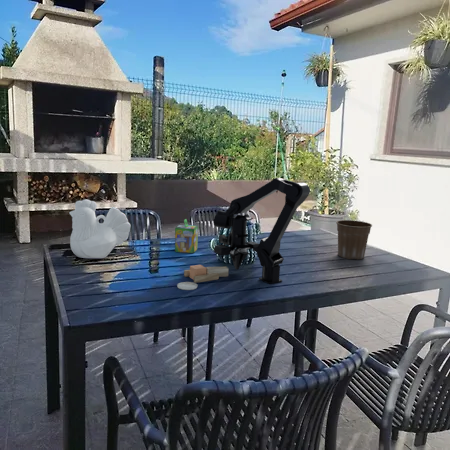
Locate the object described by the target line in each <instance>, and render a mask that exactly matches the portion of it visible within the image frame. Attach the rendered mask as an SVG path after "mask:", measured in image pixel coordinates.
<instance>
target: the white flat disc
mask: <svg viewBox="0 0 450 450" xmlns="http://www.w3.org/2000/svg"><path fill="white" fill-rule="evenodd" d="M176 286H177V288H178V289H179V290H182V291H193V290H196V289H197V288H198V284H197V283H195V282H194V281H193V282H192V281H183V282H179V283H177V284H176Z"/></svg>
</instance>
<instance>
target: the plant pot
mask: <svg viewBox="0 0 450 450" xmlns="http://www.w3.org/2000/svg"><path fill="white" fill-rule="evenodd" d="M372 227H373V224H372V223H369V222H367V221H359V220H353V219H352V220H351V219H348V220H347V219H343V220H342V219H341V220H337V221H336V230H337V255H338V257H340V258H343V259H348V260H353V259H354V260H362V259H364V258H365V255H366V250H367V244H368V239H369V235H370V234H371V230H372Z"/></svg>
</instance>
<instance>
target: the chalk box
mask: <svg viewBox="0 0 450 450" xmlns="http://www.w3.org/2000/svg"><path fill="white" fill-rule="evenodd" d="M183 223H184V224H178V225H177V226H176V227H175V229H174V252H175V253H187V254H189V253H191V254H195V252H196V251H197V250H198V243H199V240H198V237H199V235H198V234H199V226H198V225H191V224H188V221H187V218H185V219H183Z"/></svg>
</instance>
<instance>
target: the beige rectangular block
mask: <svg viewBox="0 0 450 450" xmlns="http://www.w3.org/2000/svg"><path fill="white" fill-rule="evenodd" d="M212 273H219V278H220V277H223V278H225V277H229V267H228V266H206V274H212Z"/></svg>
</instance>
